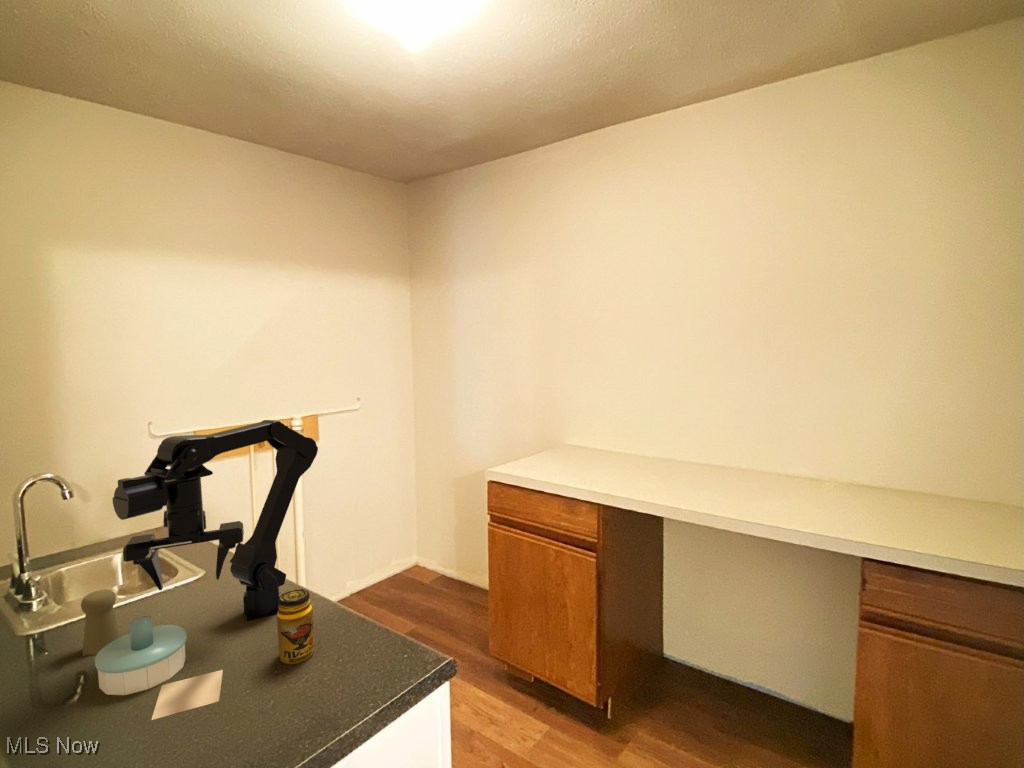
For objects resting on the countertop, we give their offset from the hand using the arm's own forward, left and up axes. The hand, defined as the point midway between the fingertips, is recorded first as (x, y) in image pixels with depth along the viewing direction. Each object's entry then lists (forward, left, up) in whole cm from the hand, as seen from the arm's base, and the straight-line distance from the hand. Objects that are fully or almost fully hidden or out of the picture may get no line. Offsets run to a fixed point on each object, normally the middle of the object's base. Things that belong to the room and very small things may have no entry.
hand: (190, 583), depth 97 cm
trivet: (-1, +16, -12) cm, 20 cm away
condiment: (-17, +12, -13) cm, 24 cm away
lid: (+7, +5, -8) cm, 12 cm away
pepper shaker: (+16, -8, -13) cm, 22 cm away
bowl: (+7, +5, -12) cm, 15 cm away
